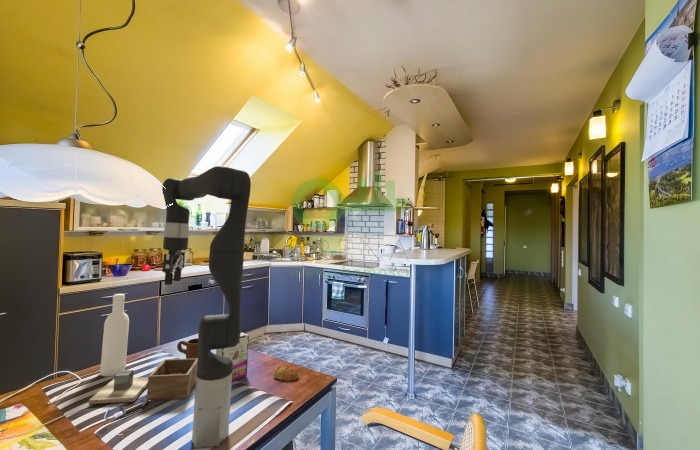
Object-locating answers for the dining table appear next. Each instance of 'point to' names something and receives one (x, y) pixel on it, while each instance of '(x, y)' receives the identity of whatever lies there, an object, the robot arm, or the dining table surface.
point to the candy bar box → (237, 356)
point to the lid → (121, 388)
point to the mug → (189, 348)
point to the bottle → (115, 339)
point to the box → (172, 379)
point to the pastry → (285, 373)
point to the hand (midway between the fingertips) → (172, 282)
